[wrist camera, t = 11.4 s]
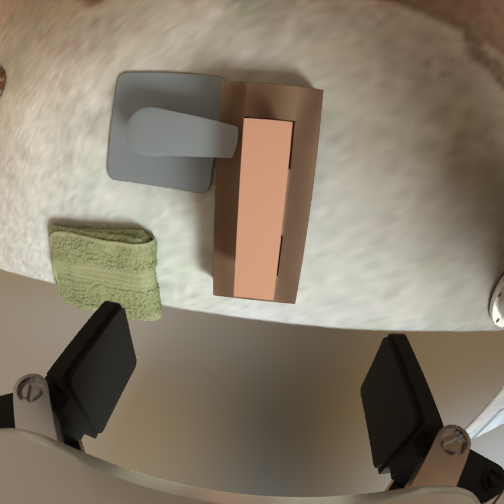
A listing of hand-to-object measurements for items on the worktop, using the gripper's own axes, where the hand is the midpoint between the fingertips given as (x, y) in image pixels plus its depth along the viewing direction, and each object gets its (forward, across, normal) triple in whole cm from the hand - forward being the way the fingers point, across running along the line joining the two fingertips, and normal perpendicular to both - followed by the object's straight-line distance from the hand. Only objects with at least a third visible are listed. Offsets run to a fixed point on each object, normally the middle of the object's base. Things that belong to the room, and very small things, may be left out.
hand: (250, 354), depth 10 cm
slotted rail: (+22, +1, 0) cm, 22 cm away
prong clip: (+22, +1, 0) cm, 22 cm away
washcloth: (+23, +21, +11) cm, 33 cm away
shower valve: (+23, +11, -6) cm, 26 cm away
